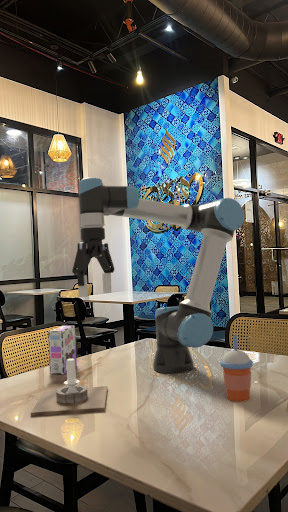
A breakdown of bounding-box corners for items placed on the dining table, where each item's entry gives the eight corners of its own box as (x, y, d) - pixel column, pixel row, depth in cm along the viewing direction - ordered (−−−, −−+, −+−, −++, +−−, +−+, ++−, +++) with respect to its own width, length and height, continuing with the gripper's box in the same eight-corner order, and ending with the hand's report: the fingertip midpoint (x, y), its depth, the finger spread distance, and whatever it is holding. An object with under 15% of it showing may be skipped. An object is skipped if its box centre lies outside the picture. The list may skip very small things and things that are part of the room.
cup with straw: (236, 406, 112) (232, 339, 113) (215, 397, 120) (212, 335, 121) (261, 399, 116) (258, 335, 117) (240, 391, 125) (236, 331, 125)
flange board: (107, 389, 133) (106, 378, 133) (104, 411, 113) (104, 398, 113) (44, 393, 132) (44, 382, 132) (30, 416, 112) (30, 403, 112)
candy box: (64, 374, 154) (62, 330, 154) (49, 374, 155) (47, 330, 155) (77, 365, 168) (75, 324, 168) (63, 365, 169) (61, 325, 169)
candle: (68, 402, 119) (66, 360, 119) (60, 398, 123) (58, 357, 124) (85, 397, 122) (82, 357, 123) (76, 394, 127) (74, 354, 127)
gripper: (103, 230, 144) (106, 291, 144) (58, 226, 122) (61, 298, 121) (122, 228, 141) (125, 291, 140) (78, 224, 118) (82, 298, 118)
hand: (95, 294), depth 131 cm, fingers open, 13 cm apart
